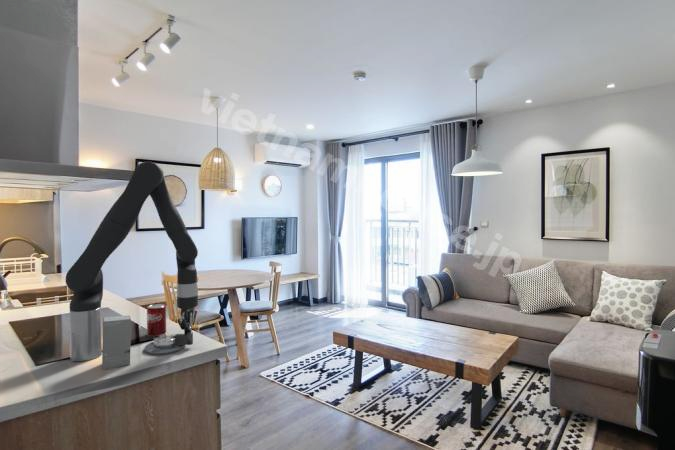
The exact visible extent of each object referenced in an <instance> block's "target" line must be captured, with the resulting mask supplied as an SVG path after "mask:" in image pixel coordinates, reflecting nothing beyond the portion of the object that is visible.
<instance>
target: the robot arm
mask: <svg viewBox="0 0 675 450" xmlns="http://www.w3.org/2000/svg"><path fill="white" fill-rule="evenodd" d="M148 197H150V198H151V199H152V201H153V204H154V207H155V209H156V212H157V215H158V217H159V220H160V222H161V225H162V227H163V229H164V230H165V233H166V235H167V236H168V238H169V240H170V241H171V242H172V245H173V246H174V248H175V257H176V258H175V259H176V267H177V273H176V274H177V275H176V276H177V280H176V281H177V284H176V307H177V308H179V309H180V310H181V311H180V318H178V319H177V323H178V325H179V327H180V330H182V331H183V334H187V332H193V331H192V329H193V327H194V325H195V323H196V318H197V314H198V311H197V310H195V308H196V307H197V306H199V294H198V293H199V288H198V273H197V271H198V270H197V268H196V259H197V257H198V255H199V254H198V253H199V249H198V248H197V246H196V244H195V241H194V240H193V239H192V237H191V235H190V234H189V232H188V229H187V226H186V224H185V222H184V221H183V218H182V216H181V214H180V213H179V210H178V209H177V206H176V205H175V203H174V202H173V200H172V197H171V194H170V192H169V190H168V187H167V184H166V181H165V175H164V171H163V169H162V168H161V166H160V165H159V164H157V163H156V162H152V161H143V162H140V163H139V164H138V165H137V166H136V167H135V169H134V170H133V173H132V176H131V177H130V179H129V181H128V183H127V185H126V187H125V188H124V191H123V192H122V193H121V195H120V196H119V197H118V198H117V200H115V202H114V203H113V205H112V206H111V207H110V209H109V210H108V212H107V213H106V215H105V216H104V217H103V219H102V221H101V222H100V224H99V226H98V227H97V229H96V230H95V232H94V234H93V236H92V237H91V239H90V240H89V243H88V244H87V246H86V248H85V250H84V251H83V252H82V253H81V254H80V256H79V257H78V258H77V260H76V261H75V262H74V263H73V265H72V266H71V267H70V268H69V269H68V270H67V273H66V275H65V284H66V286H67V288H68V289H69V290H71V291H73V294H72V298H71V300H70V302H69V330H68V333H69V335H68V336H69V358H70V361H71V363H74V362H85V361H89V360H90V361H91V360H93V359H96V358H99V357H100V356H102V341H103V337H102V300H103V296H104V295H103V294H104V274H103V270H102V268H103V265H104V264H105V262H106V261H107V259H108V258H110V256H111V255H112V254H113V253H114V252H115V251H116V249H118V248H119V246H120V245H121V244H122V243H123V242H124V240H125V239H126V238H127V237H128V236H129V233H130V232H131V230H132V228H133V227H134V225H135V224H136V221H137V220H138V217H139V215H140V212H141V210H142V209H143V208H142V207H143V206H144V204H145V202H146V200H147V199H148Z"/></svg>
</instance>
